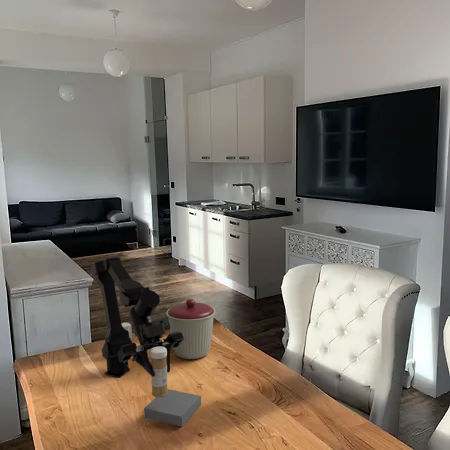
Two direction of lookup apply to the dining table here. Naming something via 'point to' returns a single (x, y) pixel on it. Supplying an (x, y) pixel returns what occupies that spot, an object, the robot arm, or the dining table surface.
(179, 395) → the podium
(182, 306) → the canister
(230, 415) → the dining table surface
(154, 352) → the sprinkles bottle
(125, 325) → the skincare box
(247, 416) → the dining table surface
